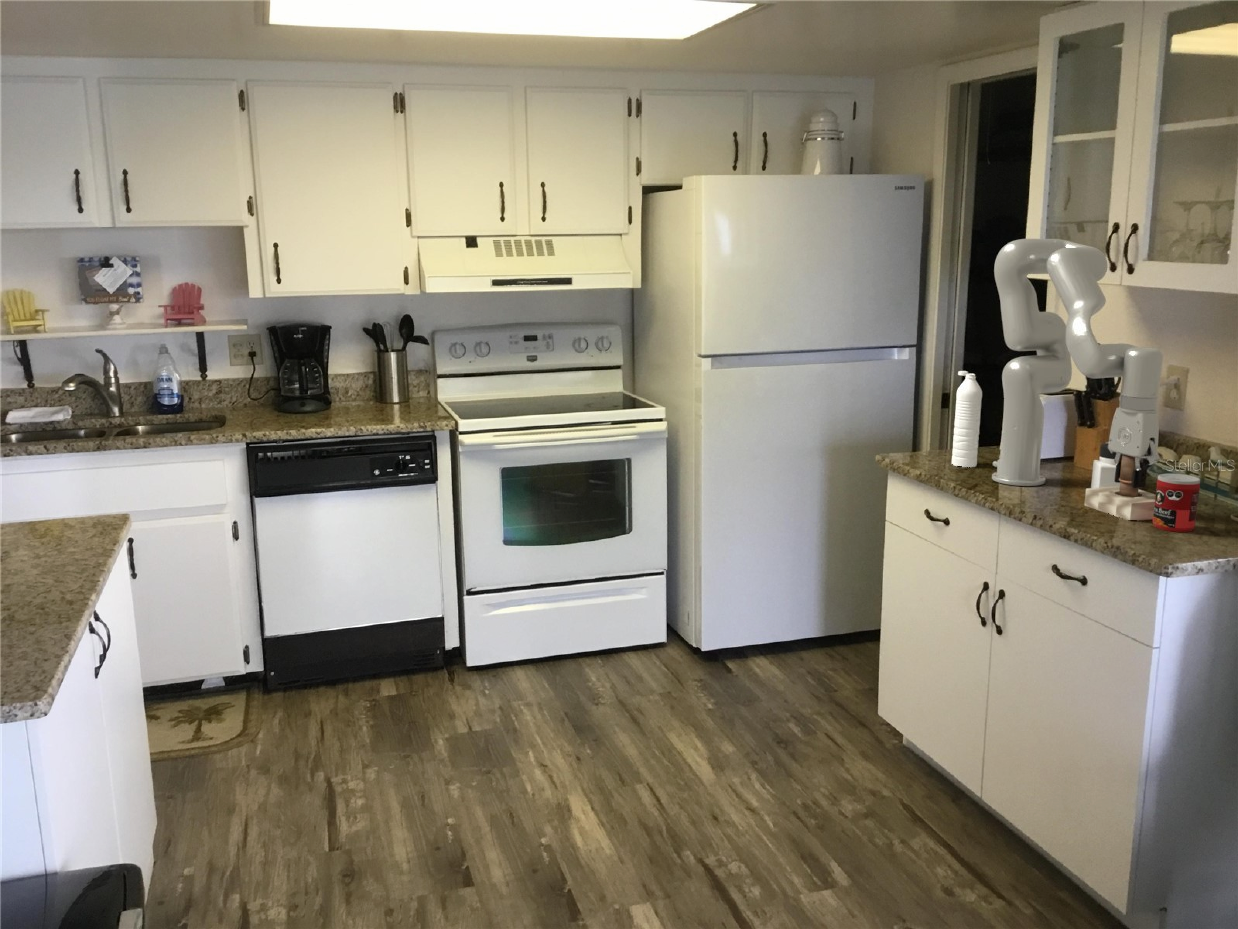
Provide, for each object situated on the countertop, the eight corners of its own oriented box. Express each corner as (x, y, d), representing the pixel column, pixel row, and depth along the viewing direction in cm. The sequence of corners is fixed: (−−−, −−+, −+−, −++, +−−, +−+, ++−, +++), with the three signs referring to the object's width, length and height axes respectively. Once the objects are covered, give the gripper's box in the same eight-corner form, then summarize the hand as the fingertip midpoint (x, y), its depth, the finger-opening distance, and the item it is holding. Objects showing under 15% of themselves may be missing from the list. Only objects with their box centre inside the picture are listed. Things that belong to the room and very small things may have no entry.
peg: (1112, 496, 233) (1116, 453, 231) (1128, 495, 234) (1133, 452, 232) (1127, 501, 229) (1132, 457, 226) (1143, 500, 230) (1148, 456, 228)
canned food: (1144, 523, 222) (1150, 473, 220) (1180, 522, 223) (1186, 472, 221) (1165, 533, 215) (1171, 481, 213) (1202, 532, 216) (1208, 481, 213)
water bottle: (981, 467, 276) (988, 374, 271) (958, 468, 275) (965, 375, 270) (965, 460, 284) (972, 370, 279) (943, 461, 283) (949, 371, 278)
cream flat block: (1084, 505, 237) (1086, 488, 236) (1123, 502, 240) (1125, 485, 239) (1129, 521, 224) (1131, 503, 223) (1170, 517, 227) (1172, 499, 226)
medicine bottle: (1129, 496, 245) (1135, 447, 243) (1097, 494, 247) (1102, 445, 244) (1121, 489, 252) (1126, 441, 250) (1090, 487, 254) (1095, 440, 251)
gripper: (1096, 399, 234) (1088, 477, 237) (1153, 410, 218) (1144, 494, 222) (1123, 397, 236) (1115, 475, 240) (1182, 409, 220) (1172, 492, 224)
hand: (1129, 483), depth 231 cm, fingers closed on peg, 4 cm apart
